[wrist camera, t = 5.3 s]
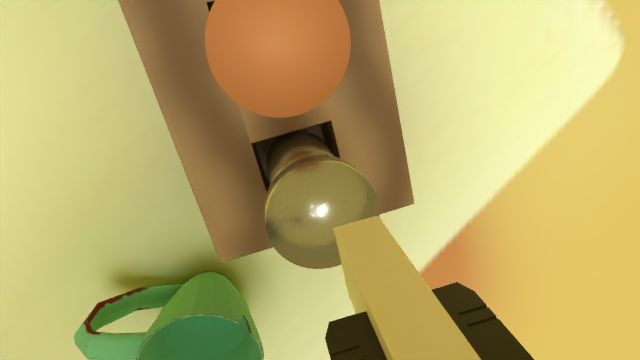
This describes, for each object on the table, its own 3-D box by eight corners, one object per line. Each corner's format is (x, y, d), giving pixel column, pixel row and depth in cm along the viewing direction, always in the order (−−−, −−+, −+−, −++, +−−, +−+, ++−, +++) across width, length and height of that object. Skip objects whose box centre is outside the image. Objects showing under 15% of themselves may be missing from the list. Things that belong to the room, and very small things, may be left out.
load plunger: (233, 97, 29) (232, 134, 20) (202, 0, 27) (182, -15, 17) (322, 73, 30) (363, 96, 20) (299, -25, 28) (332, -52, 18)
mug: (267, 256, 42) (276, 321, 33) (247, 337, 45) (249, 416, 36) (110, 234, 39) (71, 299, 30) (99, 322, 42) (59, 407, 32)
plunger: (270, 209, 34) (283, 282, 24) (246, 134, 32) (250, 183, 22) (345, 186, 35) (388, 249, 25) (328, 111, 32) (367, 149, 23)
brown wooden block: (224, 219, 40) (220, 263, 33) (84, -158, 29) (32, -220, 22) (382, 172, 42) (414, 203, 34) (307, -207, 30) (330, -281, 23)
